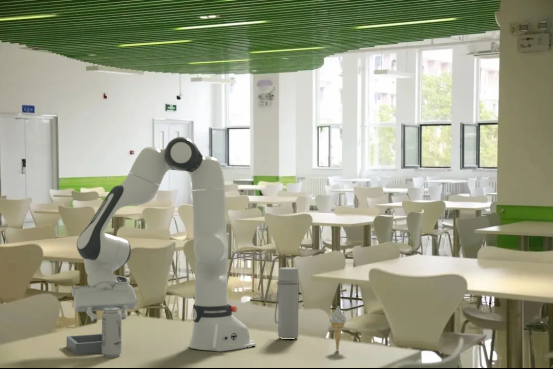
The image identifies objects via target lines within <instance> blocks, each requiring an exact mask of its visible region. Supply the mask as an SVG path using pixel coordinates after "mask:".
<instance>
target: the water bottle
mask: <svg viewBox="0 0 553 369" xmlns="http://www.w3.org/2000/svg"><path fill="white" fill-rule="evenodd" d="M298 269H299V268H298V267H294V266H293V267H290V266H289V267H287V266H286V267H284V266H283V267H279V268H278V277H277V279H278V281H276V284H277V292H276V299H275V310H274V323H275V324H277V325H278V326H277V337H278V336H279V337H282V338H296V339H298V338H299V292H300V291H299V290H300V287H299V285H300V284H299V283H300V282H299V281H300V278H299V270H298ZM277 313H278V314H277ZM277 316H278V317H277ZM277 319H278V320H277ZM279 337H278V338H279Z"/></svg>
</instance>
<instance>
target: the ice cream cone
mask: <svg viewBox="0 0 553 369" xmlns="http://www.w3.org/2000/svg"><path fill="white" fill-rule="evenodd" d="M329 322H330V324H331V328H333V330H334V339H335V349H336V351H339V348H340V340H341V332H342V330H343V328H345V323H347V318H346V317H345V315H344V313H343V312H342V310H341V308H340V306H339V305H337V307H336V308H335V310H334V311H333V312H332V314H331V316H330V317H329Z"/></svg>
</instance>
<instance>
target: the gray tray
mask: <svg viewBox="0 0 553 369" xmlns="http://www.w3.org/2000/svg"><path fill="white" fill-rule="evenodd" d="M66 348H67V349H68V350H69V351H71V353H73V354H74V355H75V356H77V355H78V356H79V355H90V354H100V353H101V354H102V333H95V334H94V333H93V334H80V335H79V334H78V335H67V336H66Z"/></svg>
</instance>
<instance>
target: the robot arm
mask: <svg viewBox="0 0 553 369" xmlns="http://www.w3.org/2000/svg"><path fill="white" fill-rule="evenodd" d="M169 171H178V172H187V173H188V174H189V175H190V179H191V195H192V196H191V197H192V215H193V216H192V217H193V218H192V219H193V220H192V225H193V230H192V231H193V233H192V234H193V253H194V255H195V268H194V269H195V271H194V272H195V273H194V304H193V305H192V321H193V325H192V332H191V333H192V334H191V338H190V340H189V348H191V349H194V350H200V351H201V350H202V351H214V352H226V351H233V350H239V349H240V350H241V349H247V347H248V348H253V347H252V346H255V347H257V343H256V341H255V340H253V339H252V338H250V334H249V329H248V327H247V325H245V324H244V323H243V322H242V321H241V320H239V319H238V318H237V317H235V316H234V315H233V313H237V312H238V307H237V306H236V305H231V304H229V303H228V274H229V273H228V272H229V271H228V269H229V268H228V266H229V264H228V263H229V243H228V242H229V241H228V235H227V234H228V233H227V232H228V231H227V204H226V203H227V202H226V190H225V188H226V186H225V177H224V171H223V168H222V164H221V162H220V160H219V159H217V158H215V157H213V156H204V155H203V154H202V153H201V151H200V150H199V148H198V146H197V145H196V143H195V142H194V141H193V140H192V139H190V138H188V137H184V136H179V137H175V138H173V139H171V140H170V141H169V142H168V143H167V145H166V147H165V148H163V149H160V148H158V147H155V146H145V147H144V148H143V149H141V151H140V152H139V154H138V155H137V157H136V159H135V160H134V161H133V164H132V165H131V167H130V170H129V172H128V174H127V176H126V177H125V179H124V180H123V181H122V182H121V183H120V184H119V185H115V186H114V187H112V189H111V190H110V191H109V193H108V194H107V195H106V196H105V197H104V199H103V201H102V203H101V204H100V206H99V207H98V209H97V210H96V212H95V213H94V216H93V217H92V219H91V221H90V222H89V224H88V225H87V227H85V228H84V230H83V231H81V233H80V235H79V236H78V238H77V240H76V248H77V251H78V254H79V256H80V257H81V258H82V259H83V263H84V271H85V273H86V275H87V278H86V279H87V280H86V281H87V285H75V287H72V289H71V292H70V293H71V295H72V297H73V308H74V310H75V312H77V313H83V312H84V313H86V314H87V316H88V317H89V318H90V319H91V320H90V321H91V322H97V321H98V316H97V313H93V312H101V311H102V312H104V308H110V307H116V308H120V309H119V310H120V312H121V311H122V312H121V314H122V320H126V318H127V314H126V313H127V310H133V309H135V308H136V306H137V303H138V298H137V294H136V290H135V289H134V288H133V286H132V285H130V282H131V280H130V278H129V277H126V276H122V275H118V274H115V273H114V272H116V271H118V270H119V269H121V268H122V267H123V266H124V265H126V264H127V263H128V262H129V261H130V258H131V256H132V248H131V244H130V242H129V241H128V239H125V238H123V237H119V236H116V235H114V234H113V235H112V234H111V233H106V232H105V230H106V229H107V227H108V226H109V223H110V222H111V220H112V219H113V218H114V216H115V214H116V212H117V211H119V210H120V209H121V208H124V207H128V206H140V205H145V204H147V203H149V202H151V201H152V200H153V199H154V198H155V197H156V195H157V193H158V191H159V188H160V185H161V184H162V181H163V179H164V177H165V175H166V174H167V172H169ZM122 320H121V321H122Z"/></svg>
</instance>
